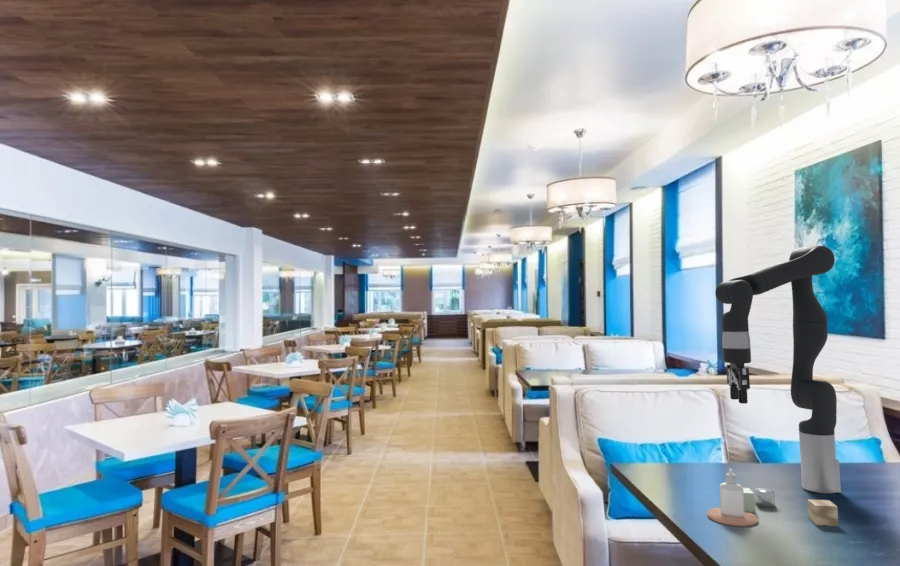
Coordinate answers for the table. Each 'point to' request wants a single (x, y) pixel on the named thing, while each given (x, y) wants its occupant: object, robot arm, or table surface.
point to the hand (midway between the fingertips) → (738, 401)
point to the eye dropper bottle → (731, 497)
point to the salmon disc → (733, 518)
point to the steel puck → (764, 497)
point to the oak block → (823, 512)
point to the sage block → (749, 500)
